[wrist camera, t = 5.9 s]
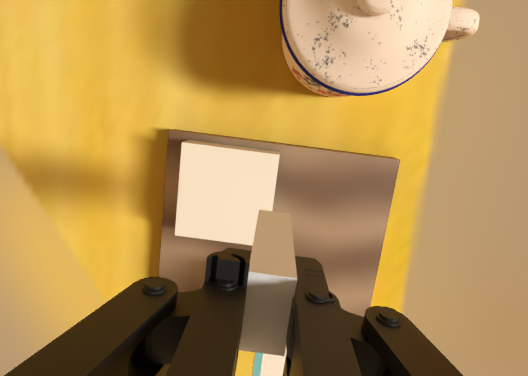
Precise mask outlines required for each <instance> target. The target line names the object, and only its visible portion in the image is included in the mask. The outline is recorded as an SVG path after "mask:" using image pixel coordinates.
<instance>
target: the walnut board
mask: <svg viewBox="0 0 528 376" xmlns="http://www.w3.org/2000/svg"><path fill="white" fill-rule="evenodd" d="M187 140H197V141H205V142H213V143H220V144H228V145H236V146H244V147H252V148H259V149H267V150H275V151H280V157H279V165H278V172H277V180H276V187H275V194H274V202H273V209H272V211H274V212H281V213H288V214H290V216H291V225H292V234H293V244H294V253H295V256H301V257H308V258H315V259H316V260H317V261H318V262H320V263H321V264H322V267H323V270H324V274H325V278H326V281H327V285H328V289H329V291H330V292H332V293H333V294H334V295H336V297H337V298H338V300H339V302H340V306H341V308H342V309H344V310H345V311H348V312H350V313H353V314H356V315H359V316H362V317H364V315H365V311H366V309H368V308H369V307H370V305H371V300H372V295H373V290H374V285H375V280H376V275H377V271H378V266H379V261H380V256H381V251H382V246H383V241H384V236H385V232H386V227H387V222H388V217H389V212H390V207H391V202H392V197H393V193H394V188H395V183H396V178H397V173H398V168H399V163H400V160H399V159H396V158H393V157H385V156H377V155H369V154H362V153H354V152H346V151H338V150H330V149H323V148H315V147H307V146H299V145H291V144H284V143H276V142H268V141H260V140H252V139H245V138H237V137H229V136H221V135H213V134H206V133H198V132H190V131H182V130H169V134H168V149H167V163H166V178H165V192H164V207H163V221H162V236H161V250H160V265H159V277H162V278H167V279H170V280H172V281H174V282H175V283H176V284H177V287H178V292H187V291H194V290H198V289H201V288H202V286H203V284H204V280H205V270H206V260H207V256H208V255H210V254H211V253H214V252H219V251H223V250H225V249H226V248H236V249H243V250H250V251H252V245H244V244H237V243H229V242H221V241H214V240H206V239H199V238H191V237H183V236H176V235H175V224H176V211H177V198H178V185H179V172H180V159H181V146H182V142H184V141H187Z"/></svg>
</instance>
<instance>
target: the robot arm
mask: <svg viewBox="0 0 528 376" xmlns="http://www.w3.org/2000/svg"><path fill="white" fill-rule="evenodd" d="M285 349H286V351H287V352H286V358H285V364H284V370H283V376H463V375H462V374H461V373H460V372H459V371H458V370H457V369H456V368H455V367H454V366H453V365H452V364H451V363H450V361H449V360H448V359H447V358H446V357H445V356H444V355H443V354H442V353H441V352H440V351H439V350H438V349H437V348H436V347H435V346H434V345H433V344H432V343H431V342H430V341H429V340H428V339H427V338H426V337H425V336H424V335H423V333H422V332H421V331H419V329H418V328H417V327H416V326H415V325H414V324H413V323H412V322H411V321H410V320H409V319H408V318H406V317H405V316H404V315H403V314H401V313H399V312H397V311H396V310H394V309H392V308H389V307H381V306H373V307H369V308H368V309H366V311H365V315H364V317H362V316H359V315H356V314H353V313H350V312H348V311H345V310H344V309H342V308H341V306H340V302H339V300H338V298H337V297H336V295H334V294H333V293H332V292H330V291H329V289H328V285H327V281H326V278H325V274H324V270H323V267H322V264H321V263H320V262H318V261H317V260H316V259H315V258H308V257H301V256H295V253H294V244H293V234H292V225H291V216H290V214H288V213H281V212H274V211H266V210H259V213H258V219H257V224H256V230H255V235H254V241H253V246H252V251H250V250H243V249H236V248H226V249H225V250H223V251H219V252H214V253H211V254H210V255H208V256H207V260H206V270H205V280H204V284H203V286H202V288H201V289H198V290H194V291H187V292H178V287H177V284H176V283H175V282H174V281H172V280H170V279H167V278H162V277H149V278H144V279H141V280H139V281H137V282H135V283H133V284H132V285H130V286H129V287H128V288H126V289H125V290H123V291H122V292H121V293H119V294H118V295H116V296H115V297H114V298H112V299H111V300H109V301H108V302H107V303H105V304H104V305H102V306H101V307H100V308H99V309H97V310H95V311H94V312H93V313H91V314H90V315H88V316H87V317H86V318H84V319H83V320H81V321H80V322H79V323H77V324H76V325H74V326H73V327H72V328H70V329H69V330H67V331H66V332H65V333H63V334H62V335H60V336H59V337H58V338H56V339H55V340H53V341H52V342H51V343H49V344H48V345H46V346H45V347H43V348H42V349H41V350H39V351H38V352H37V353H35V354H34V355H32V356H31V357H29V358H28V359H27V360H25V361H24V362H23V363H21V364H20V365H18V366H17V367H15V368H14V369H13V370H11V371H10V372H8V373H7V374H6V375H4V376H235V371H236V365H237V358H238V350H243V351H250V352H257V353H264V354H271V355H278V356H284V355H285Z"/></svg>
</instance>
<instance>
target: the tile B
mask: <svg viewBox="0 0 528 376" xmlns="http://www.w3.org/2000/svg"><path fill="white" fill-rule="evenodd" d="M286 352H287V351H286V349H285V355H284V356H278V355H271V354H264V353H257V352H254V355H253V366H252V376H283V370H284V364H285V358H286Z"/></svg>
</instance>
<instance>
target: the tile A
mask: <svg viewBox="0 0 528 376" xmlns="http://www.w3.org/2000/svg"><path fill="white" fill-rule="evenodd" d="M279 157H280V151H275V150H267V149H259V148H252V147H244V146H236V145H228V144H220V143H213V142H205V141H197V140H187V141H184V142H182V146H181V159H180V172H179V185H178V198H177V211H176V224H175V235H176V236H183V237H191V238H199V239H206V240H214V241H221V242H229V243H237V244H244V245H252V246H253V241H254V235H255V230H256V224H257V219H258V213H259V210H266V211H272V209H273V202H274V194H275V187H276V180H277V172H278V165H279Z"/></svg>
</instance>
